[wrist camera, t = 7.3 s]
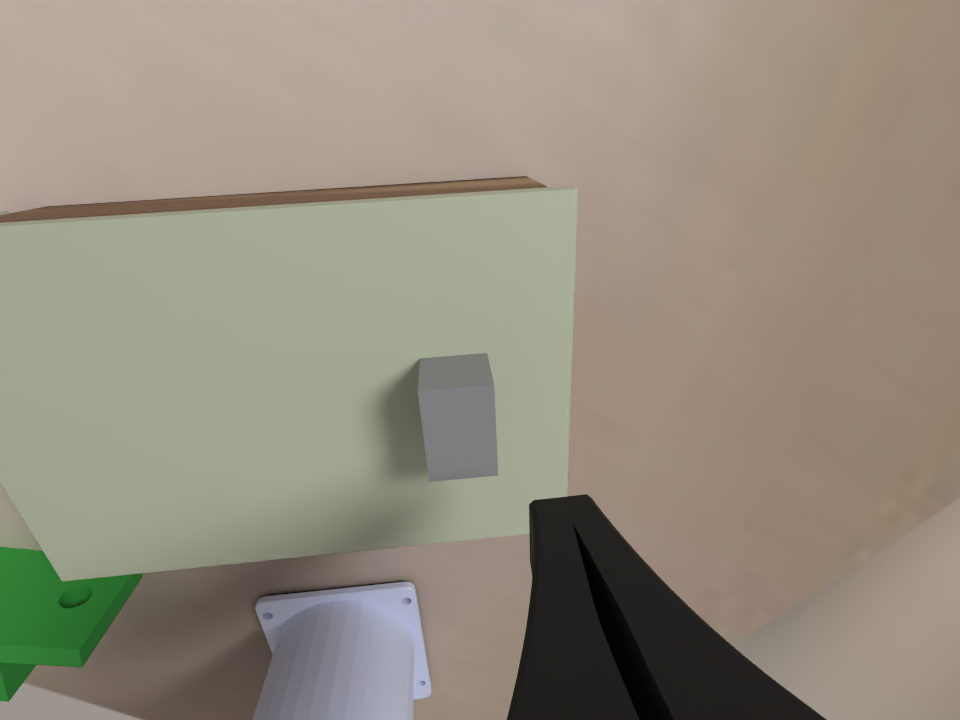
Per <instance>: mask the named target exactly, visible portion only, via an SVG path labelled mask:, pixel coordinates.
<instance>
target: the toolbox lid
mask: <svg viewBox="0 0 960 720" xmlns="http://www.w3.org/2000/svg"><path fill="white" fill-rule="evenodd" d="M577 203H578V189H577V188H574V187H572V186H561V187H545V188H530V189H514V190H499V191H483V192H468V193H452V194H437V195H421V196H406V197H390V198H375V199H359V200H344V201H329V202H313V203H298V204H282V205H267V206H251V207H236V208H220V209H205V210H189V211H174V212H158V213H143V214H127V215H112V216H96V217H81V218H65V219H50V220H35V221H19V222H4V223H0V483H1V485H2V486H3V488H4V489H5V491H6V493H7V494H8V496H9V497H10V499H11V501H12V502H13V504H14V505H15V507H16V509H17V510H18V512H19V513H20V515H21V517H22V518H23V520H24V521H25V523H26V525H27V526H28V528H29V529H30V531H31V533H32V534H33V536H34V537H35V539H36V541H37V542H38V544H39V545H40V547H41V549H42V550H43V552H44V553H45V555H46V556H47V558H48V560H49V561H50V563H51V564H52V566H53V568H54V569H55V571H56V572H57V574H58V576H59V577H60V579H61V580H62V581H71V580H81V579H90V578H100V577H110V576H120V575H130V574H140V573H149V572H159V571H169V570H179V569H189V568H198V567H208V566H218V565H228V564H238V563H248V562H257V561H267V560H277V559H287V558H297V557H306V556H316V555H326V554H336V553H346V552H355V551H365V550H375V549H385V548H395V547H405V546H414V545H424V544H434V543H444V542H454V541H463V540H473V539H483V538H493V537H503V536H513V535H522V534H530V530H529V504H530V503H531V502H532V501H533V500H539V499H549V498H558V497H567V485H568V457H569V429H570V401H571V372H572V344H573V316H574V288H575V260H576V232H577ZM4 214H10V213H9V211H5V212H0V215H4Z"/></svg>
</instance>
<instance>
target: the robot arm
mask: <svg viewBox="0 0 960 720" xmlns="http://www.w3.org/2000/svg"><path fill="white" fill-rule="evenodd" d="M529 530H530V563H531V570H532V577H533V578H532V589H531V597H530V605H529V612H528V620H527V627H526V633H525V639H524V644H523V650H522V655H521V660H520V665H519V670H518V675H517V679H516V684H515V688H514V692H513V697H512V701H511V705H510V710H509V714H508V718H507V720H826V719H825V718H823V717H822V716H821V715H819V714H818V713H817V712H816V711H814V710H813V709H812V708H810V707H809V706H808V705H806V704H805V703H804V702H802V701H801V700H799V699H798V698H797V697H796V696H794V695H793V694H792V693H790V692H789V691H787V690H786V689H785V688H784V687H782V686H781V685H780V684H778V683H777V682H776V681H775V680H773V679H772V678H771V677H769V676H768V675H767V674H766V673H764V672H763V671H762V670H761V669H759V668H758V667H757V666H756V665H754V664H753V663H752V662H751V661H750V660H748V659H747V658H746V657H745V656H743V655H742V654H741V653H740V652H739V651H738V650H736V649H735V648H734V647H733V646H732V645H731V644H730V643H728V642H727V641H726V640H725V639H724V638H723V637H721V636H720V635H719V634H718V633H717V632H716V631H715V630H713V629H712V628H711V627H710V626H709V625H708V624H707V623H706V622H705V621H704V620H702V619H701V618H700V617H699V616H698V615H697V614H696V613H695V612H694V611H693V610H692V609H691V608H690V607H689V606H688V605H687V604H686V603H685V602H684V601H683V600H682V599H681V598H680V597H679V596H678V595H676V594H675V593H674V592H673V591H672V590H671V589H670V588H669V587H668V586H667V585H666V583H665V582H664V581H663V580H662V579H661V578H660V577H659V576H658V575H657V574H656V573H655V572H654V571H653V570H652V569H651V568H650V567H649V566H648V564H647V563H646V562H645V561H644V560H643V559H642V558H641V557H640V556H639V555H638V554H637V553H636V551H635V550H634V549H633V548H632V547H631V546H630V545H629V544H628V542H627V541H626V540H625V539H624V538H623V537H622V535H621V534H620V533H619V532H618V531H617V529H616V528H615V527H614V526H613V525H612V523H611V522H610V521H609V520H608V519H607V517H606V516H605V515H604V514H603V512H602V511H601V510H600V509H599V507H598V506H597V505H596V503H595V502H594V501H593V499H592V498H591V497H589V496H588V495H577V496H568V497H558V498H549V499H539V500H533V501H532V502H531V503H530V504H529ZM255 610H256V613H257V616H258V618H259V621H260V623H261V626H262V629H263V631H264V634H265V636H266V639H267V642H268V644H269V647H270V649H271V652H272V655H273V656H272V659H271V662H270V665H269V668H268V672H267V675H266V678H265V681H264V684H263V687H262V691H261V694H260V697H259V700H258V703H257V706H256V710H255V713H254V716H253V719H252V720H413V711H414V699H421V698H426V697H428V696H429V695H430V694H431V682H430V675H429V669H428V663H427V657H426V651H425V645H424V638H423V632H422V626H421V620H420V614H419V607H418V601H417V595H416V589H415V586H414V585H413V584H412V583H410V582H397V583H388V584H378V585H369V586H359V587H350V588H340V589H331V590H321V591H312V592H302V593H293V594H283V595H274V596H265V597H261V598H260V599H258V601H257V603H256V606H255Z"/></svg>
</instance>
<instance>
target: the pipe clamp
mask: <svg viewBox="0 0 960 720" xmlns="http://www.w3.org/2000/svg"><path fill="white" fill-rule="evenodd" d="M141 578H142V573H140V574H130V575H120V576H110V577H100V578H90V579H81V580H71V581H62V580H61V579H60V577H59V576H58V574H57V572H56V571H55V569H54V568H53V566H52V564H51V563H50V561H49V560H48V558H47V556H46V555H45V553H44V552H43V551H37V550H26V549H16V548H6V547H0V701H9V700H10V699H11V698H12V696H13V695H14V694H15V693H16V691H17V690H18V688H19V687H20V686H21V685H22V683H23V682H24V681H25V679H26V678H27V677H28V675H29V674H30V673H31V671H32V670H33V669H34V667H35V666H36V665H52V666H69V667H83V665H84V664H85V662H86V661H87V659H88V658H89V656H90V655H91V653H92V652H93V650H94V649H95V647H96V646H97V644H98V643H99V641H100V640H101V638H102V637H103V635H104V634H105V632H106V631H107V629H108V628H109V626H110V625H111V623H112V622H113V620H114V619H115V617H116V616H117V614H118V613H119V611H120V610H121V608H122V607H123V605H124V603H125V602H126V600H127V599H128V597H129V596H130V594H131V593H132V591H133V590H134V588H135V587H136V585H137V584H138V582H139V581H140V579H141ZM84 602H85V603H84ZM79 603H84V604H82V605H80V606H79Z"/></svg>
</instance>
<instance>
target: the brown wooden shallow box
mask: <svg viewBox="0 0 960 720" xmlns="http://www.w3.org/2000/svg"><path fill="white" fill-rule="evenodd" d="M545 187H547V186H545V185H543V184H541V183H539V182H537V181H535V180H533V179H530V178H528V177H526V176H522V177H506V178H490V179H475V180H459V181H443V182H427V183H411V184H396V185H380V186H364V187H348V188H332V189H317V190H301V191H285V192H269V193H253V194H238V195H222V196H206V197H190V198H174V199H159V200H143V201H127V202H111V203H95V204H80V205H64V206H48V207H42V208H37V209H31V210H26V211H21V212H15V213H10V214H4V215H0V223H4V222H19V221H35V220H50V219H65V218H81V217H96V216H112V215H127V214H143V213H158V212H174V211H189V210H205V209H220V208H236V207H251V206H267V205H282V204H298V203H313V202H329V201H344V200H359V199H375V198H390V197H406V196H421V195H437V194H452V193H468V192H483V191H499V190H514V189H530V188H545Z"/></svg>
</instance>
